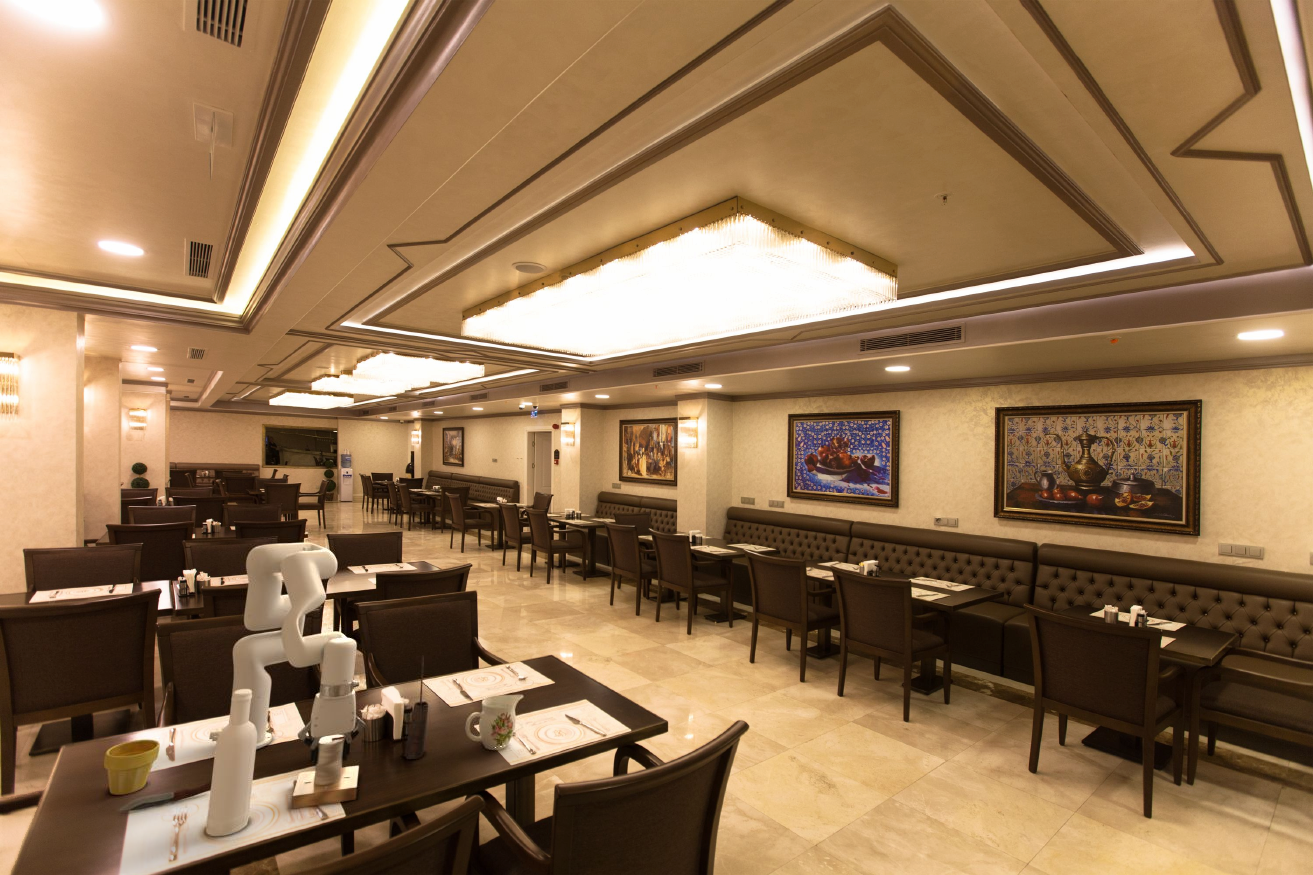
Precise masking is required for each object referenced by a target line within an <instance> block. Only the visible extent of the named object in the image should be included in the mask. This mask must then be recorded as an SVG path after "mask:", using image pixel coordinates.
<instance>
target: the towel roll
mask: <svg viewBox="0 0 1313 875" xmlns="http://www.w3.org/2000/svg"><path fill="white" fill-rule="evenodd" d="M344 739H345V737H344V736H342V735H332V736H326V737H322V738H320V740H319V742H318V744H317V746H318V755H317V764H316V765H315V769H314V771H315V778H314V783H315V784H316V785H322V786H323V785H330V784H333V783H336V782H338V781H339V780H340V778H341V770H342V768H343V761H344V759H343V749H344Z"/></svg>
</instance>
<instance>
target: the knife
mask: <svg viewBox="0 0 1313 875" xmlns="http://www.w3.org/2000/svg"><path fill="white" fill-rule="evenodd" d="M211 784H212V780H211V781H209V782H207V783H205V784H203V785H201V786H198V787H195V788H182V789H178V790H176V791H170V792H166V793H161V794H155V795H147V796H142V797H141V796H140V797H138V798H135V799H133V800H132V801H130V802H128V803H127V804H125V805H123V806H122V807H121V808H120V809H118V810H117V812H133V811H134V812H135V811H140V810H146V809H152V808H156V807H160V806H164V805H168V804H171V803H175V802H179V801H182V800H186V799H190V798H192V797H196V796H198V795H200V794H203V793H206V792H209V791H211Z"/></svg>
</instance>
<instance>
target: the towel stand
mask: <svg viewBox="0 0 1313 875" xmlns="http://www.w3.org/2000/svg"><path fill="white" fill-rule="evenodd" d="M359 770H360V765H352V766H345V767H344V766H343V767H342V770H341V778H340V780H339V781H338V782H336V783H333V784H330V785H323V786H322V785H316V784H315V783H314V778H315V770H312V771H311V770H310V771H304V772H303V771H302V772H299V773H298V776H297V779H296V783H295V785H294V789H293V793H292V796H291V807H290V809H301V808H307V807H312V806H313V807H315V806H320V805H327V804H334V803H342V802H347V801H354V800H357V790H358V789H357V788H358V779H359Z"/></svg>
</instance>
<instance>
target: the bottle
mask: <svg viewBox="0 0 1313 875" xmlns="http://www.w3.org/2000/svg"><path fill="white" fill-rule="evenodd" d="M251 698H252V691H251V690H250V689H240V690H237V691H235V692H234V693H233V697H232V696H231V701H232V706H231V705H230V709H231V715H230V714H229V718H230V723H229V722H228V723H227V725H226V726H224V727H223V728H222V729H221V731H220V732H221V733H220V735H219V737H218V739H217V741H215V750H214V759H213V767H212V776H211V781H212V784H211V789H210V794H209V800H208V811H207V817H206V821H205V824H206V829H205V831H206V834H207V835H209V836H211V837H223V836H225V837H226V836H229V835H233V834H235V833H237V832H239V831H241V830H242V829H244V828H245V827H246V826H247V825H248V822H249V817H250V812H251V807H250V806H251V798H252V788H253V781H254V772H255V771H254V770H255V762H256V752H257V749H256V744H257V731H256V728H255V725H254V724H252V723H251V722H250V721H249V712H250V703H251Z"/></svg>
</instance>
